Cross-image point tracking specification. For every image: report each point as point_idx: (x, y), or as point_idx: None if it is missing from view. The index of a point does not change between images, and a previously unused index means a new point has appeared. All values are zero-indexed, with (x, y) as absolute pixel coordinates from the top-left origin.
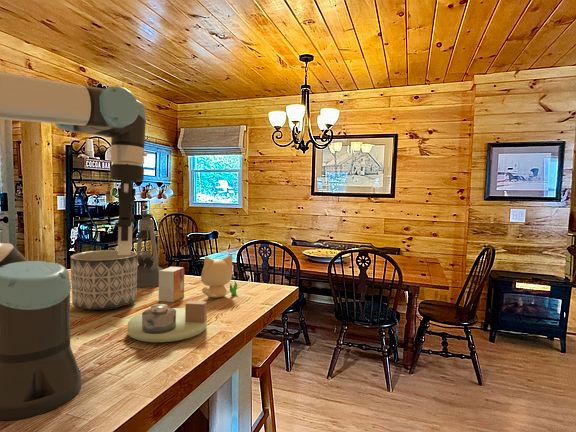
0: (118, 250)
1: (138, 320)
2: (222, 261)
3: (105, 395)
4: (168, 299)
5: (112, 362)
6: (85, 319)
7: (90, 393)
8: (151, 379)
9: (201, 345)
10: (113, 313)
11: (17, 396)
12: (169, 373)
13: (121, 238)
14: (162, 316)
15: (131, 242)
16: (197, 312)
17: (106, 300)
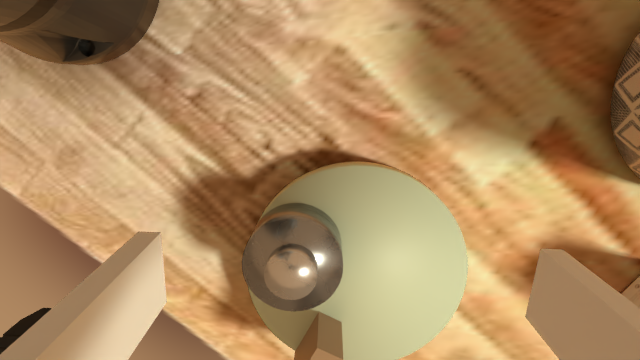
0: (122, 250)
1: (382, 197)
2: None
3: (43, 114)
4: (630, 294)
5: (194, 123)
6: (566, 32)
7: (57, 85)
8: (90, 199)
9: (231, 313)
10: (587, 119)
11: None
12: (108, 233)
13: (20, 324)
14: (249, 271)
15: (544, 339)
16: (301, 357)
17: (631, 100)
